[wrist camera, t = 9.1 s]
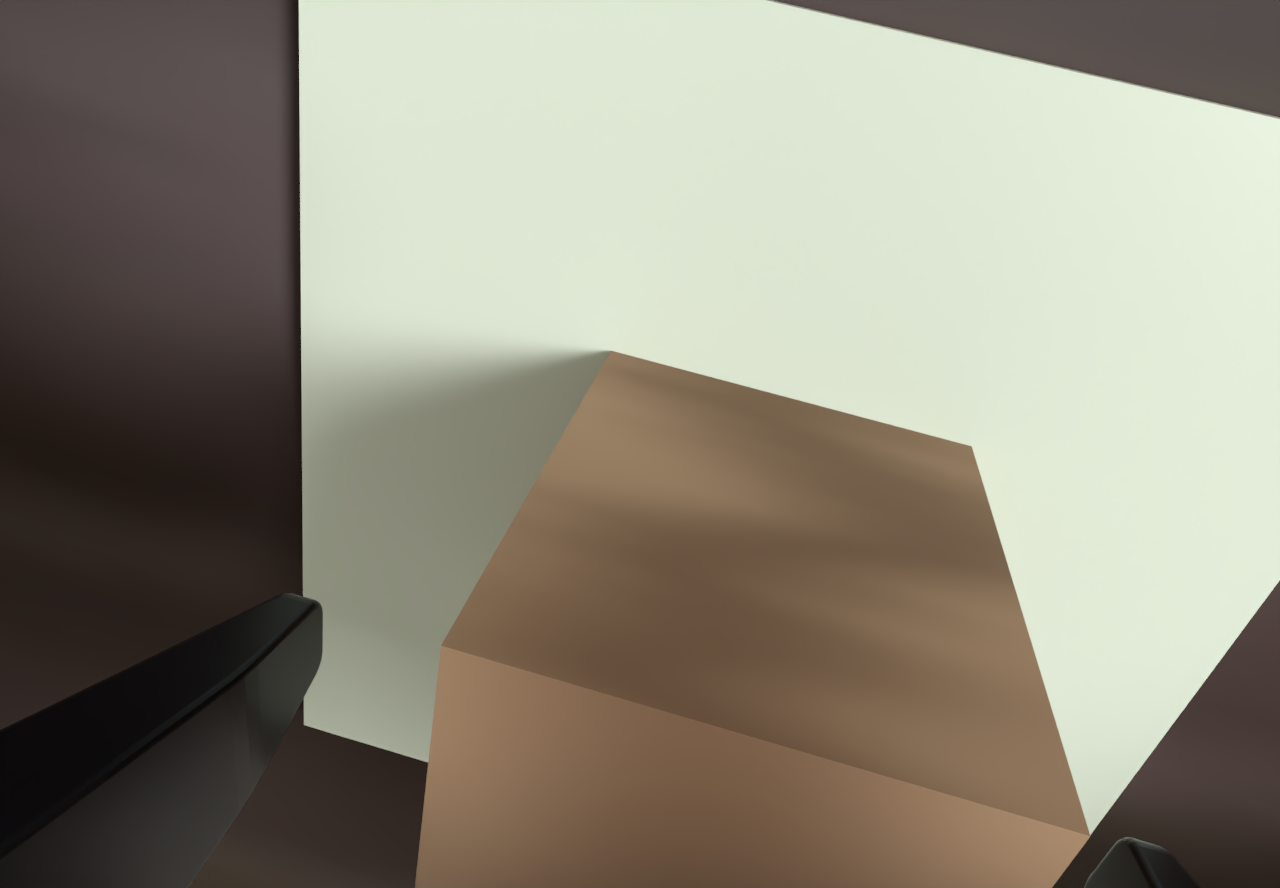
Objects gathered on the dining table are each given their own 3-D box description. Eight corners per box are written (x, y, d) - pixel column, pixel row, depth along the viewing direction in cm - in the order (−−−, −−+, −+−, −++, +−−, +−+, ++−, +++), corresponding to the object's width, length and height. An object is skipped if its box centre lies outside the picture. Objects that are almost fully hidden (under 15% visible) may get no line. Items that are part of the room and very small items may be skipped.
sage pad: (1544, 178, 9) (1571, 186, 9) (1009, 918, 16) (1013, 939, 16) (316, -106, 10) (297, -108, 10) (314, 709, 17) (304, 725, 17)
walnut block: (972, 446, 11) (1090, 835, 6) (852, 705, 14) (866, 1135, 9) (610, 350, 12) (440, 646, 7) (557, 620, 14) (404, 987, 9)
